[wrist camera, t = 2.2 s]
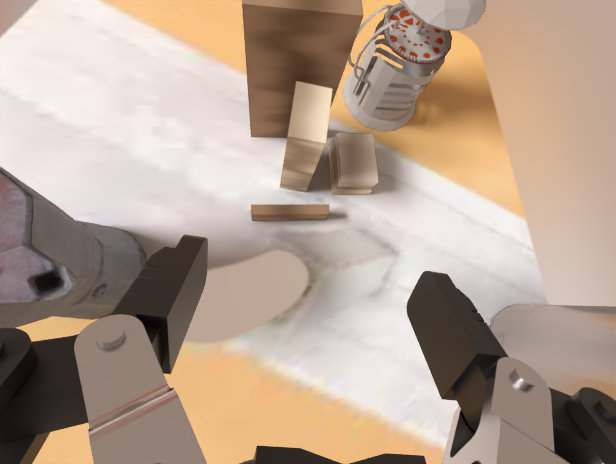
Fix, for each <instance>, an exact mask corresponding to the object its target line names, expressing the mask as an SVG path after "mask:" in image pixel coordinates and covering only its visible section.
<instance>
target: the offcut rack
mask: <svg viewBox="0 0 616 464" xmlns="http://www.w3.org/2000/svg"><path fill="white" fill-rule="evenodd" d="M242 8H243V23H244V38H245V53H246V68H247V82H248V97H249V112H250V127H251V137H280V138H288V131H289V125H290V118H291V112H292V106H293V99H294V93H295V87H296V81H299V82H303V83H308V84H313V85H317V86H322V87H327V88H331V89H332V97H331V105H332V102H333V99H334V97H335V94H336V91H337V88H338V85H339V83H340V80H341V77H342V74H343V71H344V69H345V66H346V63H347V60H348V57H349V55H350V52H351V49H352V46H353V43H354V41H355V38H356V35H357V32H358V29H359V27H360V24H361V21H362V18H363V8H362V0H242ZM330 108H331V106H330ZM329 214H330V213H329V205H251V216H252V221H275V220H325V219H326V218H327V216H328V215H329Z"/></svg>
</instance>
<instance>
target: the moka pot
mask: <svg viewBox="0 0 616 464" xmlns="http://www.w3.org/2000/svg"><path fill="white" fill-rule="evenodd" d="M145 265H146V256H145V253H144V251H143V249H142V248H141V246H140V245H139V244H138V242H137V241H136V240H135V239H134V238H133V237H132V235H131V234H130V233H128V232H127V231H124V230H120V229H116V228H111V227H108V226H103V225H99V224H94V223H88V222H82V221H76V220H74V219H73V218H71V217H70V216H69V215H68V214H66V213H65V212H64V211H62V210H61V209H60V208H59V207H57V206H56V205H55V204H53V203H52V202H50V201H49V200H47V199H46V198H44V197H43V196H42V195H40V194H39V193H37V192H36V191H34V190H33V189H32V188H30V187H29V186H27V185H26V184H24V183H23V182H21V181H20V180H19V179H17V178H16V177H14V176H13V175H12V174H10V173H9V172H7V171H6V170H5V169H3V168H2V167H0V328H15V327H19V326H23V325H26V324H29V323H32V322H35V321H38V320H42V319H45V318H48V317H51V316H58V317H71V318H80V319H91V320H92V319H97V318H100V317H103V316H106V315H109V314H111V313H112V312H113V311H114V309H115V308H116V307H117V305H118V304H119V302H120V301H121V299H122V298H123V296H124V295H125V294H126V292H127V291H128V289H129V288H130V286H131V285H132V284H133V282H134V281H135V279H136V278H138V275H139V273H140V272H141V271H142V269H143V268H144V267H145Z"/></svg>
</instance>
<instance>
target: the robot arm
mask: <svg viewBox="0 0 616 464" xmlns="http://www.w3.org/2000/svg"><path fill="white" fill-rule="evenodd" d="M207 250H208V240H207V238H204V237H197V236H190V235H183V237H182V238H181V240H180V242H179V243H178V245H177V247H176V248H170V247H164V248H163V249H161V250H160V251H158V252H156V253H155V254H153V255H152V256H151V258H150V259H149V261H148V262H147V263H146V265H145V267H144V268H143V269H142V271H141V272H140V273H139V275H138V278H136V279H135V281H134V282H133V284H132V285H131V286H130V288H129V289H128V291H127V292H126V294H125V295H124V296H123V298H122V299H121V301H120V302H119V304H118V305H117V307H116V308H115V309H114V311H113V312H112V314H111V315H110V316H107V317H104V318H101V319H98V320H96V321H94V322H93V323H91V324H89V325H88V326H87V327H86V328H84V329H83V330H82V331H81V332H80V334H78V335H74V336H69V337H62V338H56V339H49V340H42V341H35V342H31V340H30V337H29V335H28V334H27V333H26V332H24V331H22V330H20V329H16V328H0V464H32V463H33V461H34V459H35V458H36V456H37V454H38V453H39V451H40V449H41V447H42V446H43V444H44V442H45V440H46V439H47V437H48V435H49V433H50V432H52V431H56V430H60V429H64V428H68V427H72V426H76V425H80V424H84V423H88V422H89V428H90V429H89V439H90V445H91V450H92V455H93V461H94V464H207V462H206V460H205V458H204V455H203V453H202V451H201V448H200V446H199V444H198V441H197V439H196V437H195V434H194V432H193V429H192V427H191V425H190V422H189V420H188V418H187V415H186V413H185V411H184V408H183V406H182V404H181V401H180V399H179V397H178V395H177V393H176V391H175V390H174V389H173V388H171V389H170V387H169V386H168V384H167V381H166V379H165V377H164V374H163V373H165V374H171V372H172V369H173V367H174V364H175V362H176V359H177V356H178V354H179V351H180V349H181V346H182V343H183V341H184V338H185V335H186V333H187V330H188V328H189V325H190V323H191V320H192V318H193V315H194V312H195V310H196V307H197V305H198V302H199V300H200V297H201V294H202V292H203V289H204V286H205V281H206V275H207ZM407 314H408V318H409V320H410V322H411V325H412V327H413V330H414V332H415V335H416V337H417V340H418V342H419V345H420V347H421V349H422V352H423V354H424V357H425V359H426V362H427V364H428V367H429V369H430V371H431V374H432V376H433V379H434V381H435V384H436V386H437V389H438V391H439V394H440V396H441V398H442V399H446V400H457V402H458V404H459V407H458V408H457V409H456V411H455V413H454V417H453V421H452V425H451V429H450V433H449V437H448V441H447V445H446V449H445V453H444V457H443V460H442V463H441V464H602V463H604V464H616V307H607V306H604V307H603V306H601V307H600V306H558V305H512V306H509V307H506V308H505V309H503V310H502V311H500V312H499V313H498V314H497V316H496V317H495V318H494V320H493V322H492V324H491V327H490V328H489V327H488V325H487V324H486V323H484V320H483V318H482V317H481V315H480V314H479V313H477V309H476V308H475V306H474V305H473V303H472V302H471V300H470V299H469V298H468V297H467V296H465V295H464V294H463V293H462V292H461V291H460V290H459V289H457V288H456V287H455V285H454V284H453V282H452V280H451V279H450V277H449V276H448V275H447V274H444V273H437V272H431V271H425V272H423V273H422V275H421V276H420V278H419V280H418V282H417V284H416V286H415V288H414V290H413V292H412V294H411V296H410V298H409V300H408V303H407ZM240 464H341V463H338V462H336V461H333V460H330V459H328V458H325V457H322V456H320V455H317V454H314V453H311V452H309V451H306V450H303V449H301V448H286V447H270V446H257V448H256V452H255V456H254V459H252V460H249V461H245V462H242V463H240ZM350 464H426V461H425V458H424V456H418V455H402V454H382V455H378V456H375V457H371V458H368V459H364V460H361V461H357V462H354V463H350Z"/></svg>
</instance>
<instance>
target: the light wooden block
mask: <svg viewBox="0 0 616 464" xmlns="http://www.w3.org/2000/svg"><path fill="white" fill-rule="evenodd" d="M331 97H332V89H331V88H327V87H322V86H317V85H313V84H308V83H303V82H299V81H296V87H295V93H294V99H293V106H292V112H291V118H290V125H289V131H288V138H287V144H286V150H285V157H284V163H283V170H282V176H281V183H280V188H284V189H290V190H296V191H302V192H306V191H307V188H308V186H309V184H310V181H311V179H312V176H313V174H314V171H315V169H316V166H317V164H318V162H319V159H320V157H321V154H322V152H323V149H324V147H325V144H326V139H327V130H328V122H329V114H330V106H331Z"/></svg>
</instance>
